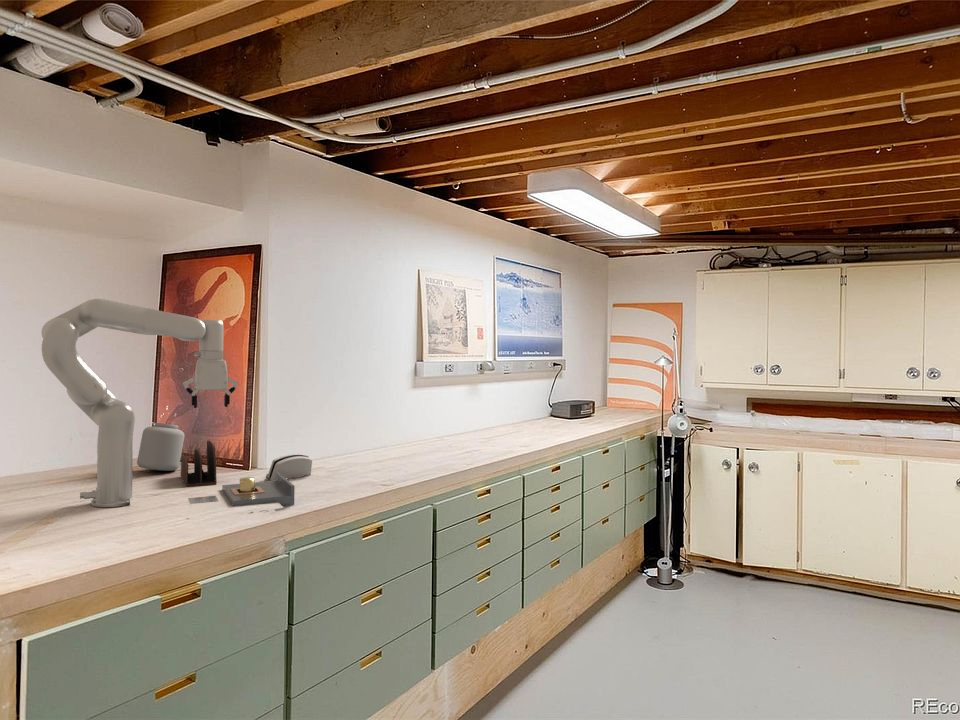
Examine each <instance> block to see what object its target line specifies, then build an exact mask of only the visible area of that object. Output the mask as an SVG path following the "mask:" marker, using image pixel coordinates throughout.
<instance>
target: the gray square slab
mask: <svg viewBox="0 0 960 720" xmlns="http://www.w3.org/2000/svg"><path fill="white" fill-rule="evenodd" d="M219 501H220V500H219V498H218V497H217V495H209V496H198V497H188V502H189V503H190V504H191V505H192V504H193V505H194V504H204V503H205V504H206V503H214V502H215V503H216V502H219Z"/></svg>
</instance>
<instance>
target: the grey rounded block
mask: <svg viewBox="0 0 960 720" xmlns="http://www.w3.org/2000/svg"><path fill="white" fill-rule="evenodd" d="M312 464H313V459H312V458H311V457H310V456H309V455H307V454H302V453H289V454H285V455H281V456H279V457H277V458H274V459H273V460H272V462H271V465H270V468H269V471H268V473H266V475H265V479H266V480H270V481H275V472H279V473H280V474H281V475H282V476H284V477H285V478H288V479H293V478H292V477H294V478H299V477H298V476H301V477H305V476H304V475H307V476H311V473H312V466H313V465H312ZM268 478H269V479H268Z"/></svg>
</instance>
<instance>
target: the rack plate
mask: <svg viewBox="0 0 960 720" xmlns="http://www.w3.org/2000/svg"><path fill="white" fill-rule="evenodd" d="M221 487H222V488H221V490H222V491H223V493H224V494H225V496H226V497H227V499H228V501H229V502H230V504H231V506H232V507H238V506H239V507H241V506H250V505H260V504H261V505H262V504H268V503H269V504H271V503H279V505H280V506H281V507H287V506H294V505H295V488H296V487H295V485H294V484H293V483H292V482H291V481H290V480H288V479H286V478H285V477H284V476H282V475H281V474H280V473H279V472H275V481H271V480H270V481H255V492H247V493H240V483H234V484H231V483H230V484H222V485H221Z"/></svg>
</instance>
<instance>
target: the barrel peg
mask: <svg viewBox="0 0 960 720" xmlns="http://www.w3.org/2000/svg"><path fill="white" fill-rule="evenodd" d="M255 480H256V477H251V476H248V477H246V476H245V477H241V478H239V484H240V493H247V492H255V482H256V481H255Z"/></svg>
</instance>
